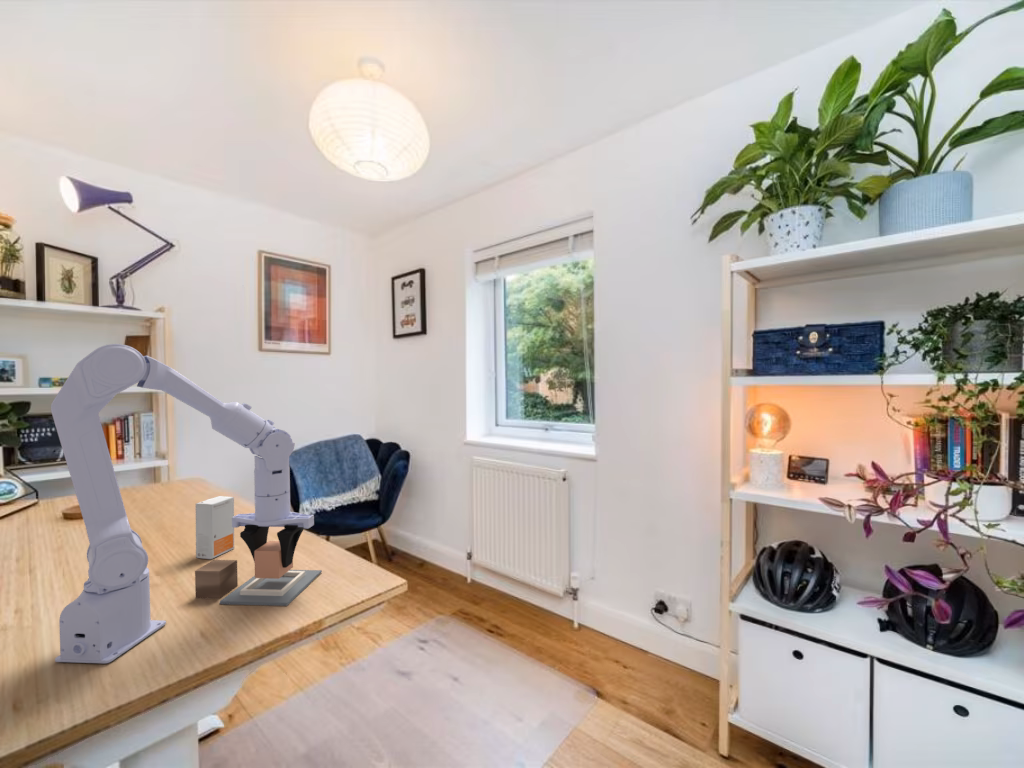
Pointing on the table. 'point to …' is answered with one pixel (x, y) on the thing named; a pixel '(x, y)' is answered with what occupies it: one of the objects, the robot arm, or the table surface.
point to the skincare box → (214, 527)
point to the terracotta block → (269, 561)
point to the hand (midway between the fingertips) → (274, 564)
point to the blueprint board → (272, 589)
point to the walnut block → (216, 579)
